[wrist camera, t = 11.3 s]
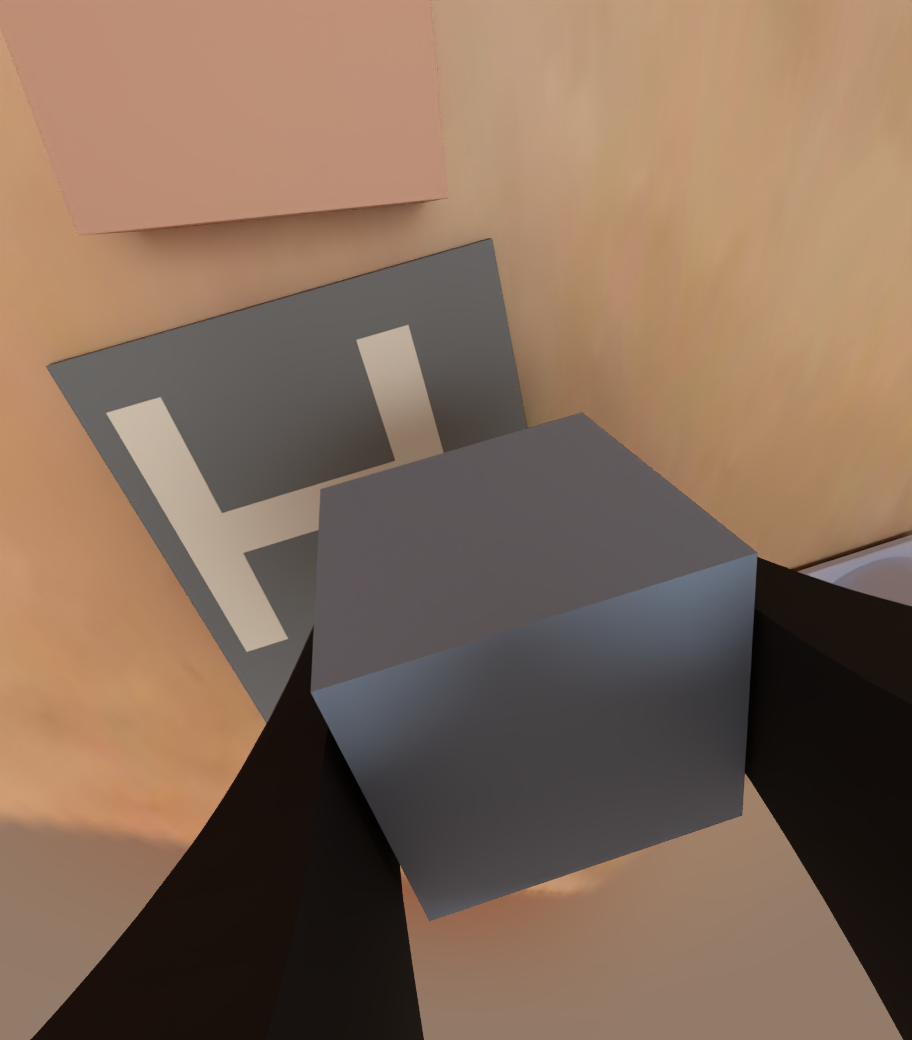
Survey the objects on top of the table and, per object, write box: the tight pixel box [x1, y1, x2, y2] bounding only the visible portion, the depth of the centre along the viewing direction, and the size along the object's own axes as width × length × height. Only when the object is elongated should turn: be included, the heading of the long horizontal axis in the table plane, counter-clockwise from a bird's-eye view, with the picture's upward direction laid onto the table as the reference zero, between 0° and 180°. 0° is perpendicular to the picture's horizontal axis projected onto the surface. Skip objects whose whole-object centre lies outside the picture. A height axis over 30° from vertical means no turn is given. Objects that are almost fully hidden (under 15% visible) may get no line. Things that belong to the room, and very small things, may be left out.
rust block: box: [0, 0, 448, 235], centre depth 11 cm, size 7×7×4 cm
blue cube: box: [311, 413, 757, 921], centre depth 9 cm, size 5×5×5 cm
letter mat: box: [46, 238, 527, 723], centre depth 19 cm, size 18×12×1 cm, turn 14°
